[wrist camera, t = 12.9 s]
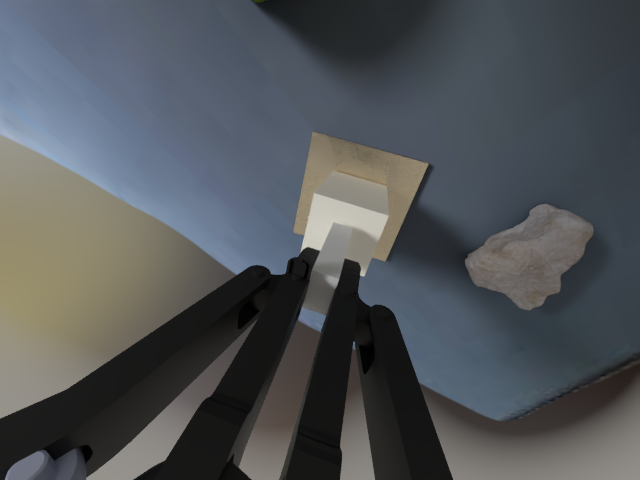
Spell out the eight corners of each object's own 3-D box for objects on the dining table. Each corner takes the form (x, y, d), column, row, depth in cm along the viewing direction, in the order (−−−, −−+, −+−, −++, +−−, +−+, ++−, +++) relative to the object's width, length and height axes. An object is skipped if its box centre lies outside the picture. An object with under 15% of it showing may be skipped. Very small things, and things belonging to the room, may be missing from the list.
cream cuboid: (333, 170, 26) (314, 193, 18) (387, 186, 25) (389, 215, 18) (321, 218, 29) (299, 255, 21) (368, 233, 28) (364, 276, 21)
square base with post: (314, 131, 25) (284, 138, 18) (427, 162, 24) (449, 185, 16) (294, 230, 31) (265, 268, 23) (385, 259, 30) (386, 309, 22)
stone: (450, 265, 29) (465, 296, 24) (502, 186, 24) (534, 204, 19) (519, 289, 28) (549, 326, 23) (585, 213, 23) (642, 239, 18)
